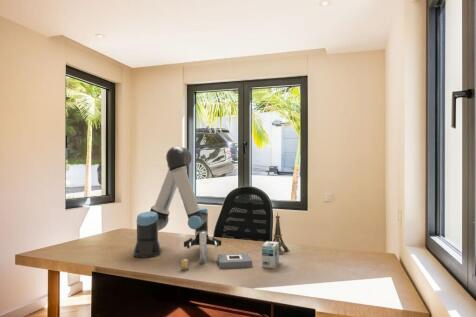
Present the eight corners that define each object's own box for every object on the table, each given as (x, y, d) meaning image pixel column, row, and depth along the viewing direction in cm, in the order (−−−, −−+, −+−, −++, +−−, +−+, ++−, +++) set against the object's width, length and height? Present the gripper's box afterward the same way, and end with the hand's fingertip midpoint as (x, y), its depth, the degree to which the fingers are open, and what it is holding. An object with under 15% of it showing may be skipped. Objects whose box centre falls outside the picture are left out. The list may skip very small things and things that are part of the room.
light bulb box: (275, 268, 155) (274, 246, 155) (261, 267, 157) (261, 245, 157) (279, 262, 165) (279, 241, 165) (266, 261, 167) (266, 240, 167)
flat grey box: (220, 268, 155) (219, 262, 155) (217, 260, 169) (217, 254, 169) (252, 267, 157) (252, 260, 158) (247, 258, 171) (247, 252, 171)
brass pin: (181, 271, 152) (180, 260, 152) (181, 268, 155) (181, 258, 156) (188, 270, 152) (188, 260, 152) (188, 268, 156) (188, 258, 156)
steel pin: (199, 264, 162) (199, 233, 162) (199, 262, 166) (199, 231, 166) (206, 264, 163) (206, 232, 163) (206, 262, 166) (206, 231, 166)
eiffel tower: (281, 255, 178) (281, 210, 178) (265, 252, 184) (265, 209, 184) (290, 251, 186) (290, 208, 187) (274, 248, 192) (274, 207, 193)
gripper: (223, 243, 184) (227, 253, 163) (180, 245, 180) (178, 256, 159) (223, 230, 184) (227, 239, 163) (180, 232, 180) (178, 240, 159)
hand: (203, 247), depth 161 cm, fingers open, 12 cm apart
